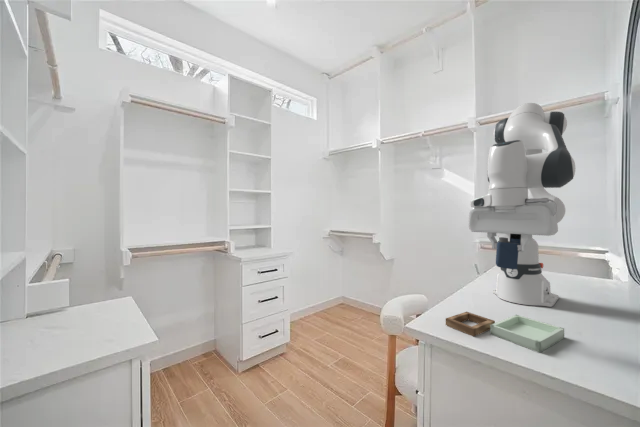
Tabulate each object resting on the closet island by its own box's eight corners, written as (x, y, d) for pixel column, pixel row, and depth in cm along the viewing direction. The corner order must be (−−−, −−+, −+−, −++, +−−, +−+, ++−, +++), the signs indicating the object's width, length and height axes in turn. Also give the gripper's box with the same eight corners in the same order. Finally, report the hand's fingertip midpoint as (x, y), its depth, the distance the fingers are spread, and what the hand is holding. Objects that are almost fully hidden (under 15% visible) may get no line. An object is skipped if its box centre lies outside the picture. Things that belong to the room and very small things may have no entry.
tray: (516, 323, 76) (516, 314, 76) (564, 338, 66) (564, 328, 66) (490, 334, 69) (490, 325, 69) (539, 352, 59) (539, 342, 59)
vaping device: (519, 270, 67) (522, 225, 67) (495, 266, 71) (498, 224, 70) (518, 268, 69) (522, 224, 69) (495, 264, 73) (498, 223, 72)
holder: (466, 317, 80) (466, 311, 80) (494, 327, 73) (494, 320, 73) (445, 325, 75) (445, 318, 75) (473, 336, 68) (473, 329, 68)
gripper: (562, 197, 62) (563, 253, 62) (477, 201, 80) (478, 245, 80) (550, 197, 59) (551, 256, 59) (464, 201, 77) (466, 247, 77)
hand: (508, 250), depth 70 cm, fingers closed on vaping device, 5 cm apart
